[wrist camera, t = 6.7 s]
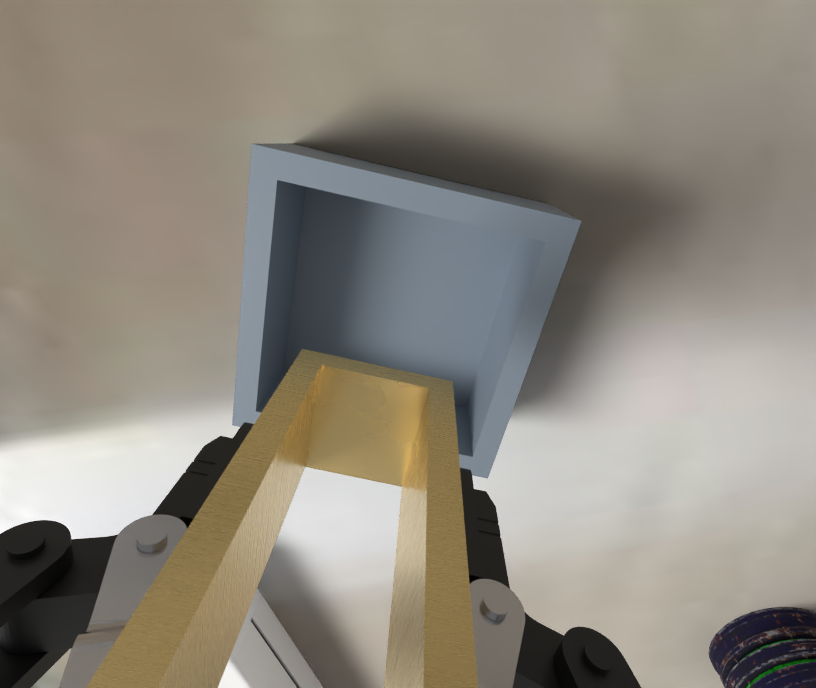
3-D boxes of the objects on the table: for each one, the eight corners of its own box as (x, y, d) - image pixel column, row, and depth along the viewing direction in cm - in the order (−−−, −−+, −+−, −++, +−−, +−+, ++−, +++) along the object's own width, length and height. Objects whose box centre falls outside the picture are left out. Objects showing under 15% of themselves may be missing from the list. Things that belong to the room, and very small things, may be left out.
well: (549, 203, 25) (581, 220, 20) (478, 419, 31) (487, 478, 26) (292, 143, 25) (251, 143, 19) (268, 374, 30) (232, 425, 25)
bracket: (452, 381, 15) (486, 797, 5) (425, 475, 17) (413, 923, 7) (302, 348, 15) (65, 720, 5) (289, 447, 16) (88, 869, 7)
